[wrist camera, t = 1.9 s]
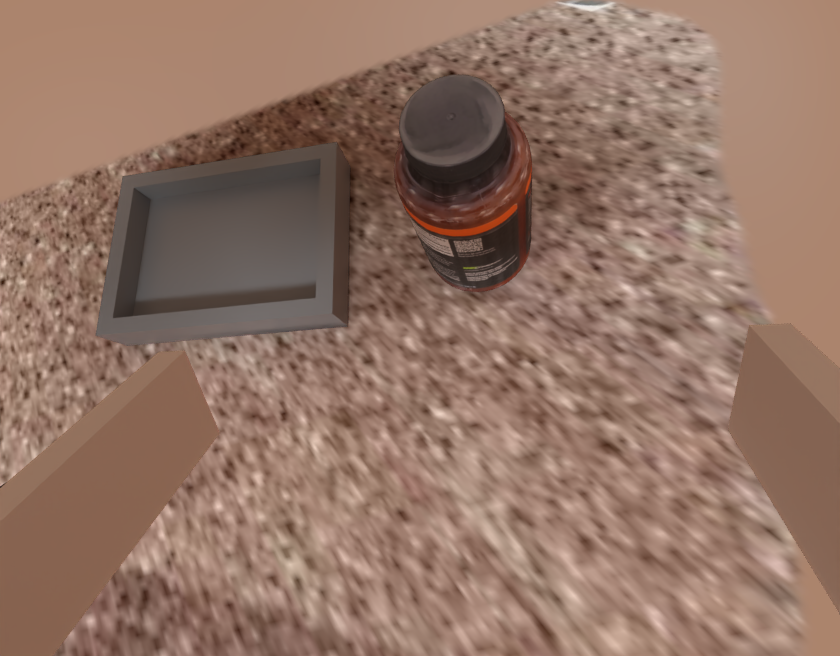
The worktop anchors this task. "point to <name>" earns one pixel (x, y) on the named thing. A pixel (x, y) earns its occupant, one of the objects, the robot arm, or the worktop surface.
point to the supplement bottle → (466, 181)
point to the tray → (230, 249)
